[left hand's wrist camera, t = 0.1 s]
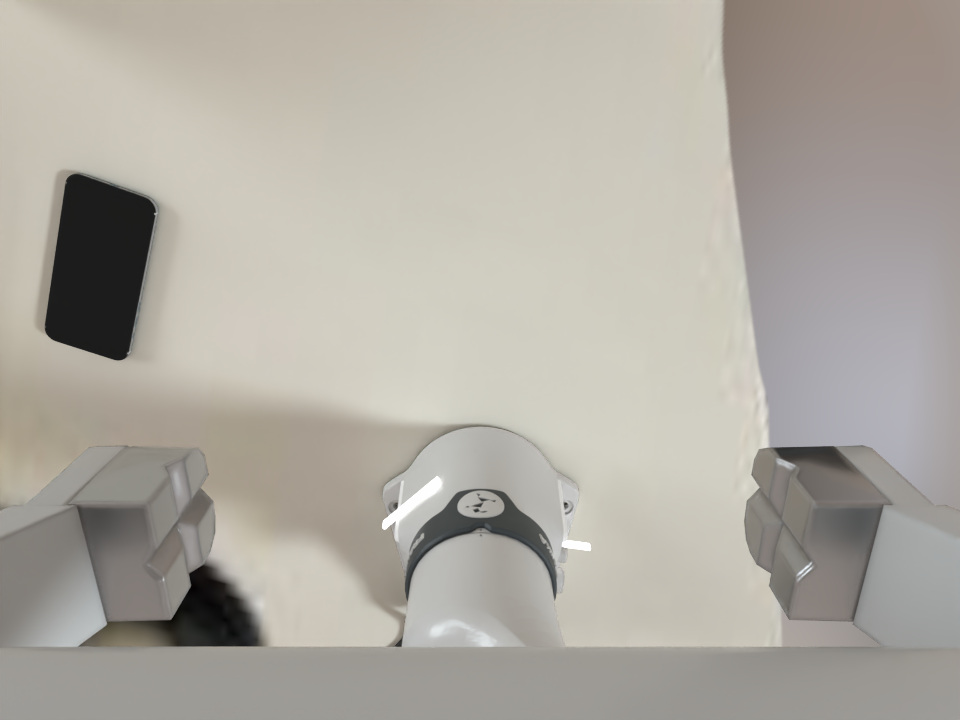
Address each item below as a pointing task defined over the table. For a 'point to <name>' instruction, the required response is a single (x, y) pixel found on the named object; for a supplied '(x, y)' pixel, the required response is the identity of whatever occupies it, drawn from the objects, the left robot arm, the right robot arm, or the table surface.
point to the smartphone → (100, 266)
